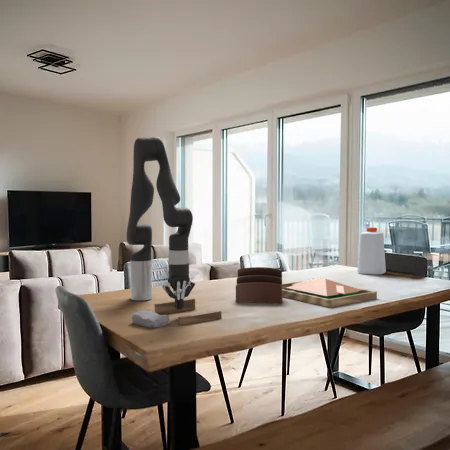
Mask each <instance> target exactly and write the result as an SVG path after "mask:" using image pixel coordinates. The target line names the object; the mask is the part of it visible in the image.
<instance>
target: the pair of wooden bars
mask: <svg viewBox="0 0 450 450" xmlns="http://www.w3.org/2000/svg"><path fill="white" fill-rule="evenodd" d="M183 305H184V306H183V308H182V309H181V310H178V309H176V308H175V300H172V301H166V302H157V303H154V313H157V314H159V315H167V314H171V313H178V312H183V311H190V310H196V298H193V297H192V298H186V299H185V298H184V300H183ZM219 319H222V310H214V311H207V312H201V313H196V314H188V315H183V316H182V315H181V316H179V317H178V318H177V321H178V322H177V323H178V324H177V325H178V326H183V325H185V326H186V325H190V324H194V323H201V322H207V321H213V320H219Z"/></svg>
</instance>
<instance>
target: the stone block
mask: <svg viewBox="0 0 450 450" xmlns="http://www.w3.org/2000/svg"><path fill="white" fill-rule="evenodd" d="M131 321H132V324H134V325H138V326H140V327H141V326H142V327H145V328H148V329H155V328H159V327H163V326H167V325H168V324H169V322H170V316H169V315H167V314H157V313H155V311H151V310H144V309H143V310H138V311H137V312H134V313H133V314H132V317H131Z"/></svg>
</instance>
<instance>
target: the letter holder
mask: <svg viewBox="0 0 450 450" xmlns="http://www.w3.org/2000/svg"><path fill="white" fill-rule="evenodd" d="M282 284H283V270H282V269H280V268H276V267H264V266H263V267H258V266H253V267H243V268H238V269H237V278H236V285H235V303H249V304H250V303H253V304H255V303H256V304H257V303H260V304H263V303H265V304H283V297H282Z"/></svg>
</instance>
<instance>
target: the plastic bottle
mask: <svg viewBox="0 0 450 450" xmlns="http://www.w3.org/2000/svg"><path fill="white" fill-rule="evenodd" d="M358 243H359V244H358V259H357V269H356V270H357V273H358V274H359V275H370V276H371V275H372V276H380V275H384V274H385V273H386V271H387V269H386V268H387V267H386V265H387V264H386V254H385V251H386V250H385V238H384V233H383V232H381V231H378V228H377V227H371V226H370V227H366V231H362V232H360V234H359V242H358Z"/></svg>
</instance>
